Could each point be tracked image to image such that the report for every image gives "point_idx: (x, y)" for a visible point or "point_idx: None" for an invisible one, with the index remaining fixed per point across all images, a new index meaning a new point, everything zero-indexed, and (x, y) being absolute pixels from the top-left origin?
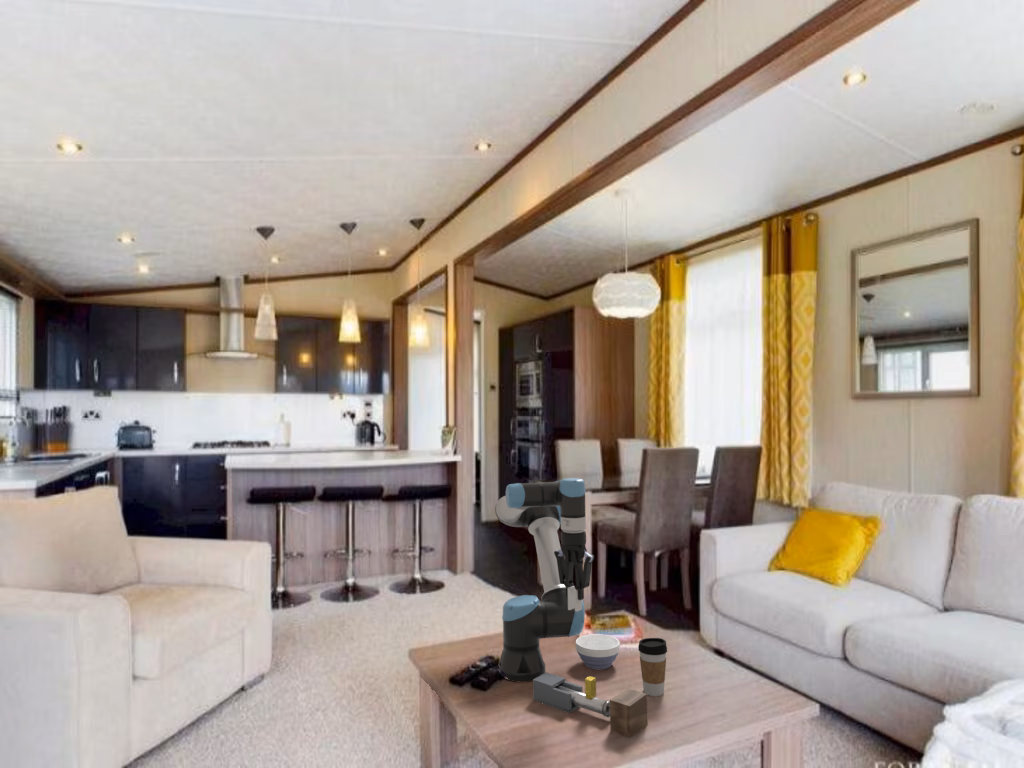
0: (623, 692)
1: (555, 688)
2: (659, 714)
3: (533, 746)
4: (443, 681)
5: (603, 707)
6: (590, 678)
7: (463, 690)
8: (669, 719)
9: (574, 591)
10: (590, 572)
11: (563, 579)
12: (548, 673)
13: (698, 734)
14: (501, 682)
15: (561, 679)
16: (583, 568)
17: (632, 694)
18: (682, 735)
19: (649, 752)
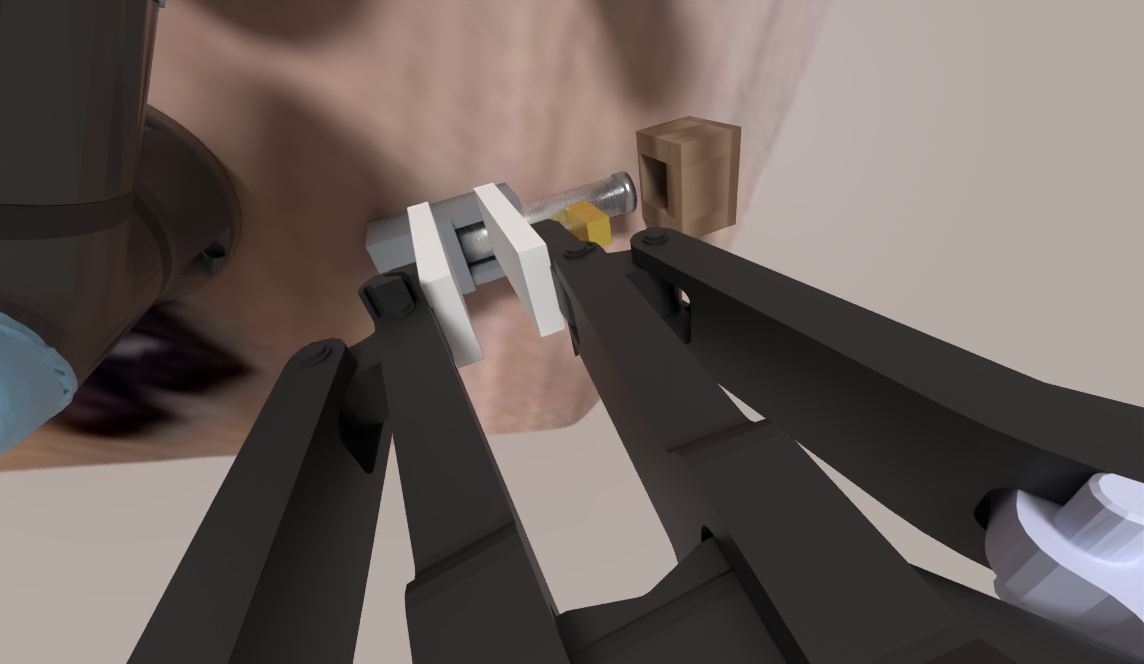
0: (687, 179)
1: (479, 276)
2: (687, 34)
3: (578, 375)
4: (106, 453)
5: (625, 214)
6: (600, 233)
7: (220, 419)
8: (719, 38)
9: (535, 325)
10: (821, 301)
11: (381, 434)
12: (380, 247)
13: (797, 50)
14: (200, 308)
15: (453, 239)
16: (822, 459)
17: (712, 166)
18: (770, 90)
19: (740, 211)
